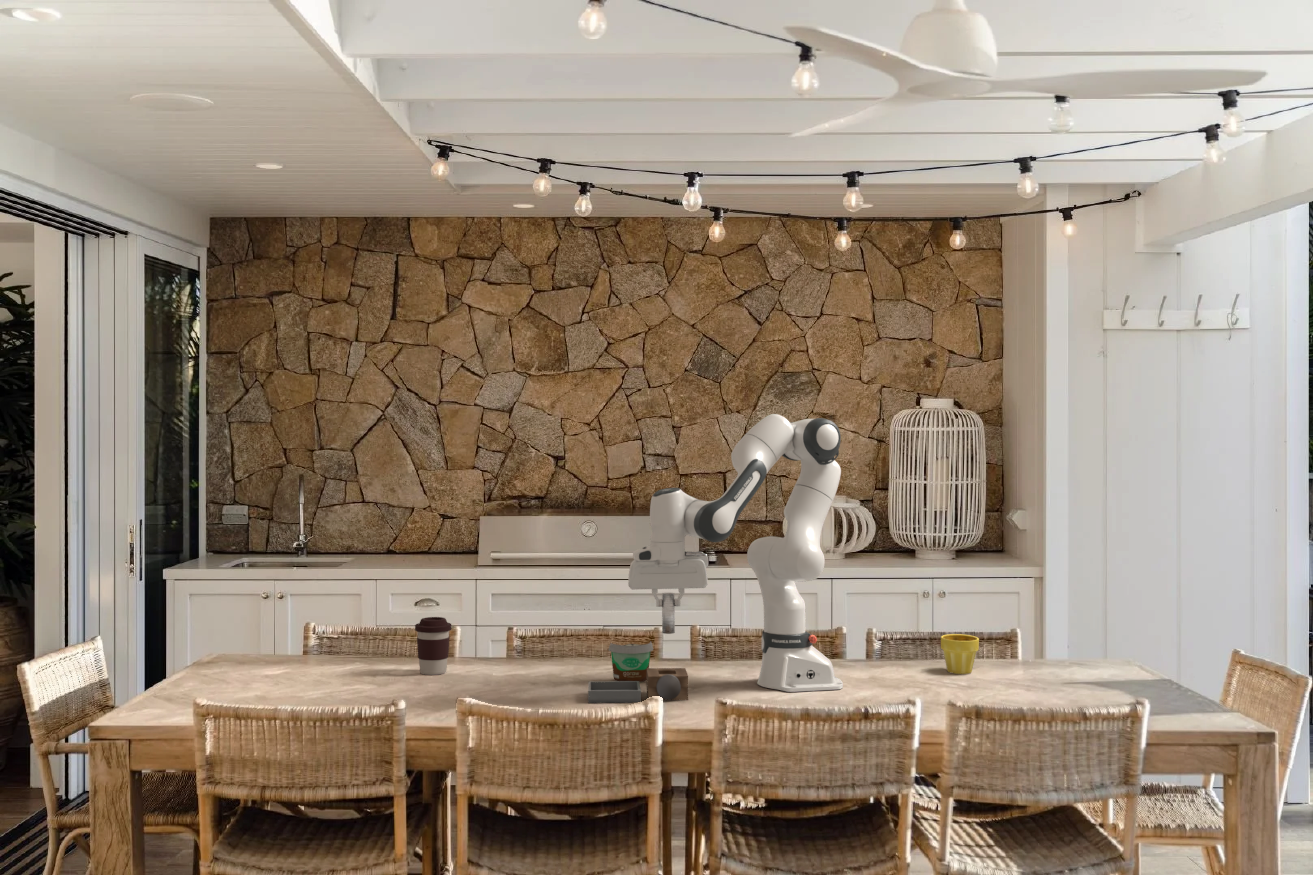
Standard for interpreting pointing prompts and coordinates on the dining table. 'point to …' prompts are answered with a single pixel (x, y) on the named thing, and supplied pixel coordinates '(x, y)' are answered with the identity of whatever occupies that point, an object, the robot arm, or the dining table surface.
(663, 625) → the lock pin
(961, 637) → the plant pot
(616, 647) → the food container
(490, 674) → the dining table surface
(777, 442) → the robot arm
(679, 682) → the block
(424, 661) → the coffee cup
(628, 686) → the tray
